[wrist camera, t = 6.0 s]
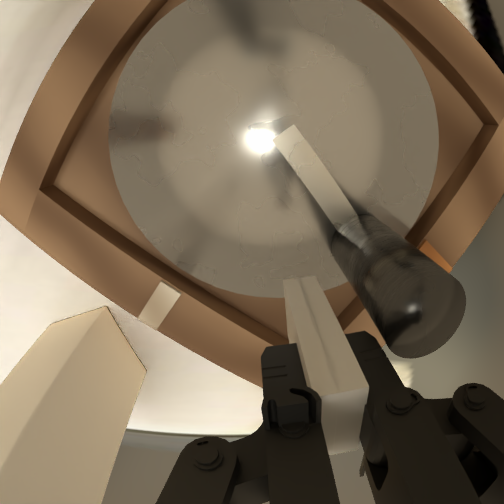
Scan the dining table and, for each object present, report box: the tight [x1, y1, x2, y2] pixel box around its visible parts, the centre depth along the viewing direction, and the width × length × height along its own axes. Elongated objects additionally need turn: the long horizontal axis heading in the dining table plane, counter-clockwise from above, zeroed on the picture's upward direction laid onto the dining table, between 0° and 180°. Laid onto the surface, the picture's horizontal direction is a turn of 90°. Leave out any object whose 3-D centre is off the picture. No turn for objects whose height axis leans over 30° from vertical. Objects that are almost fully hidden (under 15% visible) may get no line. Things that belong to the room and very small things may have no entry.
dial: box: [108, 0, 466, 358], centre depth 10 cm, size 16×16×8 cm
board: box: [0, 0, 504, 388], centre depth 15 cm, size 24×24×3 cm
